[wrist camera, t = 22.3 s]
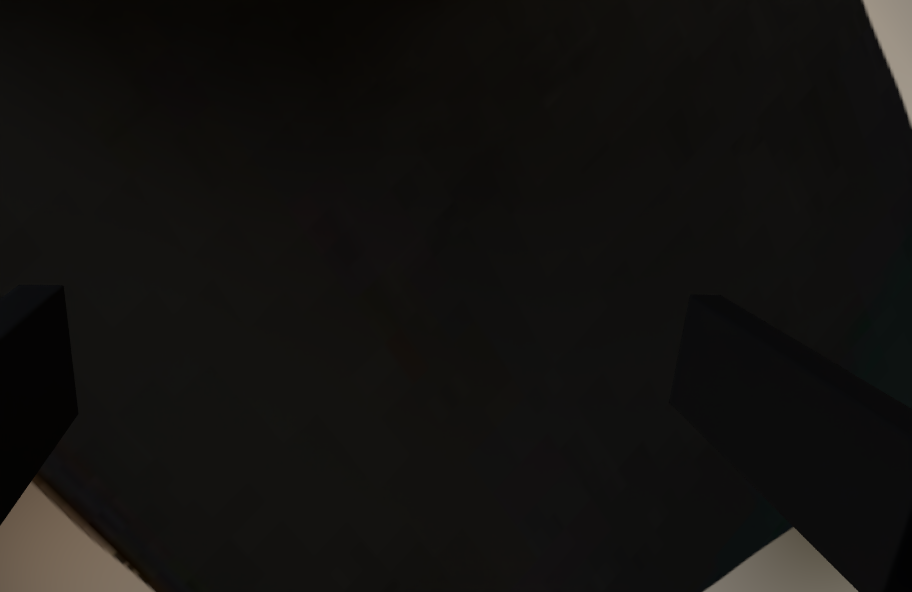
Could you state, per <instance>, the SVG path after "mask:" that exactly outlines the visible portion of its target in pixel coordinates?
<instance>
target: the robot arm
mask: <svg viewBox="0 0 912 592" xmlns="http://www.w3.org/2000/svg"><path fill="white" fill-rule="evenodd" d="M669 403H670V404H671V405H672V406H673V407H674V408H675V409H676V410H677V411H678V412H679V413H680V414H681V415H682V416H683V417H684V418H685V419H686V420H687V421H688V422H689V423H690V424H691V425H692V426H693V427H694V428H695V429H696V430H697V431H698V432H699V433H700V434H701V435H702V436H703V437H704V438H705V439H706V440H707V441H708V442H709V443H710V444H711V445H712V446H713V447H714V448H715V449H716V450H717V451H718V452H719V453H720V454H721V455H722V456H723V457H724V458H725V459H726V460H727V461H728V462H729V463H730V464H731V465H732V466H733V467H734V468H735V469H736V470H737V471H738V472H739V473H740V474H741V475H742V476H743V477H744V478H745V479H746V480H747V481H748V482H749V483H750V484H751V485H752V486H753V487H754V488H755V489H756V490H757V491H758V492H759V493H760V494H761V495H762V496H763V497H764V498H765V499H766V500H767V501H768V502H769V503H770V504H771V505H772V506H773V507H774V508H775V509H776V510H777V511H778V512H779V513H780V514H781V515H782V516H783V517H784V518H785V519H786V520H787V521H788V522H789V523H790V524H791V525H792V526H793V527H794V528H795V529H797V530H798V532H799V533H800V534H801V535H803V537H804V538H805V539H806V540H807V541H809V543H810V544H811V545H813V547H814V548H815V549H816V550H817V551H819V552H820V553H821V555H823V557H824V558H826V559H827V561H828V562H829V563H831V564H832V565H833V566H834V568H835V569H837V570H838V572H839V573H840V574H841V575H842V576H844V577H845V578H846V579H847V580H848V581H849V582H850V583H851V584H852V585H853V586H854V587H855V588H856V589H857V590H858V591H859V592H912V409H911V408H909V407H907V406H906V405H904V404H902V403H901V402H899V401H897V400H895V399H894V398H892V397H890V396H889V395H887V394H885V393H884V392H882V391H880V390H879V389H877V388H875V387H874V386H872V385H870V384H869V383H867V382H865V381H864V380H862V379H860V378H859V377H857V376H855V375H854V374H852V373H850V372H849V371H847V370H845V369H844V368H842V367H840V366H838V365H837V364H835V363H833V362H832V361H830V360H828V359H827V358H825V357H823V356H822V355H820V354H818V353H817V352H815V351H813V350H812V349H810V348H808V347H807V346H805V345H803V344H802V343H800V342H798V341H797V340H795V339H793V338H792V337H790V336H788V335H787V334H785V333H783V332H781V331H780V330H778V329H776V328H775V327H773V326H771V325H770V324H768V323H766V322H765V321H763V320H761V319H760V318H758V317H756V316H755V315H753V314H751V313H750V312H748V311H746V310H745V309H743V308H741V307H740V306H738V305H736V304H735V303H733V302H731V301H730V300H728V299H726V298H724V297H723V296H721V295H690V298H689V303H688V308H687V313H686V318H685V324H684V329H683V334H682V339H681V344H680V349H679V354H678V359H677V364H676V369H675V375H674V380H673V385H672V390H671V395H670V400H669ZM77 415H78V407H77V398H76V390H75V381H74V372H73V364H72V355H71V346H70V338H69V329H68V320H67V312H66V303H65V294H64V286H57V285H18V286H17V287H16V288H14V289H13V290H12V291H10V292H9V293H8V294H6V295H5V296H3V297H2V298H1V299H0V525H1V524H2V522H3V521H4V519H5V518H6V517H7V515H8V514H9V512H10V511H11V509H12V508H13V507H14V505H15V504H16V502H17V501H18V499H19V498H20V497H21V495H22V494H23V492H24V491H25V489H26V488H27V486H28V485H29V484H30V482H31V481H32V479H33V478H34V477H35V475H36V474H37V472H38V471H39V469H40V468H41V466H42V465H43V464H44V462H45V461H46V459H47V458H48V456H49V455H50V454H51V452H52V451H53V449H54V448H55V446H56V445H57V444H58V442H59V441H60V439H61V438H62V436H63V435H64V434H65V432H66V431H67V429H68V428H69V426H70V425H71V424H72V422H73V421H74V419H75V418H76V416H77Z"/></svg>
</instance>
